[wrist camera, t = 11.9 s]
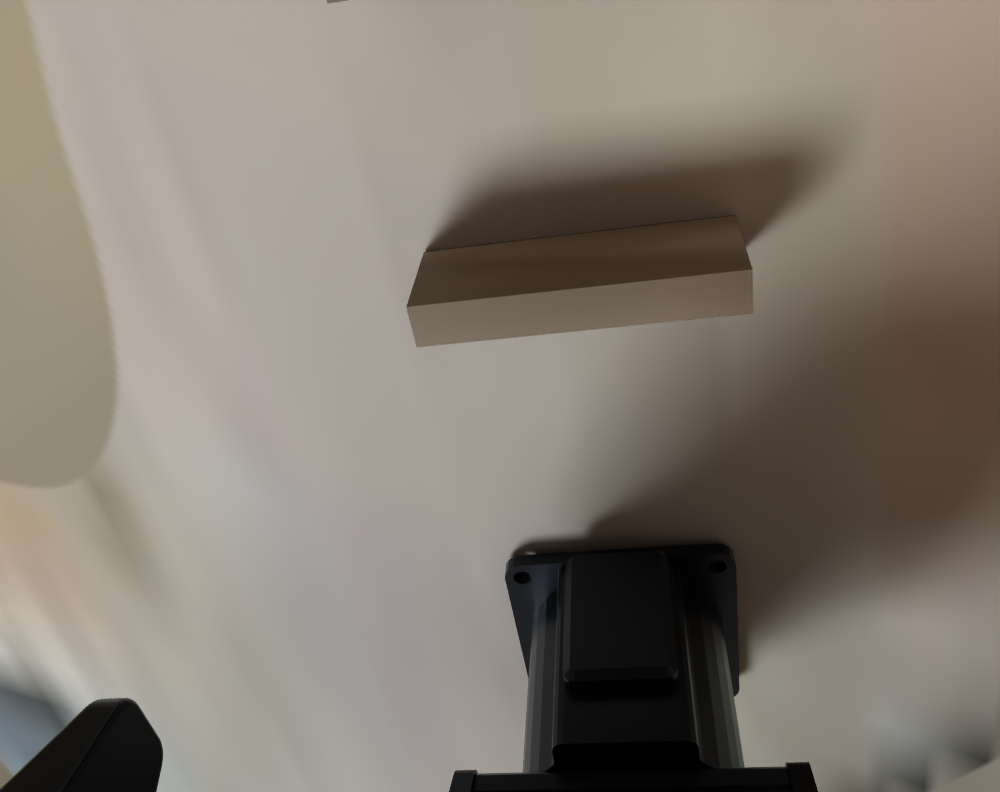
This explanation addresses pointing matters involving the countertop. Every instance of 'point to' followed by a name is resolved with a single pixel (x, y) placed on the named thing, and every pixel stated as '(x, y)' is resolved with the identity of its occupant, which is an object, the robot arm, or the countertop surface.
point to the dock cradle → (582, 282)
